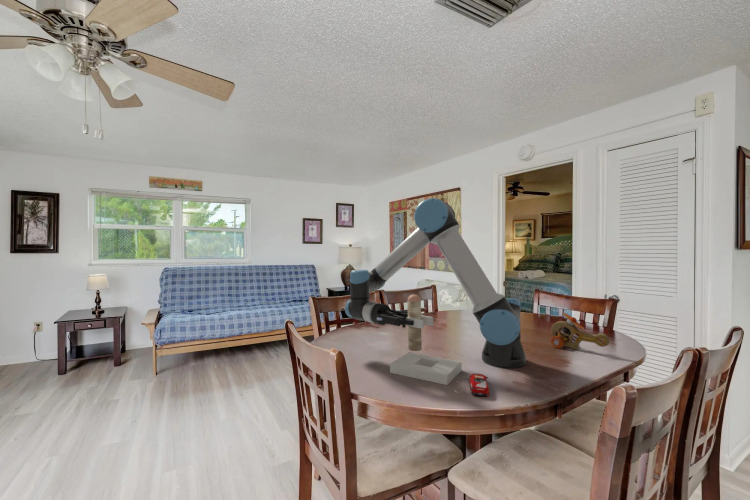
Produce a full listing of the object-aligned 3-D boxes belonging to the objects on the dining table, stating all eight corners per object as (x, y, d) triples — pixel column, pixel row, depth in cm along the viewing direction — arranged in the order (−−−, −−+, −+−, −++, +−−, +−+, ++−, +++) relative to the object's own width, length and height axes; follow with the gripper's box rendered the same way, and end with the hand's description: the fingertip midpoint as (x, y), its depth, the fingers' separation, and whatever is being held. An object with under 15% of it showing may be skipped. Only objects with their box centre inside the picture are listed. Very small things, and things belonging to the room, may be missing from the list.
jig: (461, 370, 115) (461, 361, 115) (447, 385, 103) (447, 375, 103) (408, 360, 125) (408, 352, 125) (390, 372, 114) (390, 363, 114)
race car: (468, 379, 108) (468, 367, 108) (486, 380, 106) (486, 368, 106) (469, 397, 95) (469, 383, 95) (490, 399, 94) (489, 385, 94)
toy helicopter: (556, 342, 145) (556, 310, 145) (613, 354, 129) (613, 318, 129) (547, 346, 140) (547, 313, 140) (605, 359, 124) (605, 321, 124)
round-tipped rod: (423, 348, 113) (422, 293, 113) (418, 351, 109) (417, 295, 109) (411, 346, 115) (410, 293, 115) (406, 349, 112) (405, 294, 112)
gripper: (393, 319, 131) (443, 329, 114) (359, 327, 119) (410, 340, 102) (393, 300, 131) (443, 307, 114) (359, 306, 119) (409, 315, 102)
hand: (427, 322), depth 108 cm, fingers closed on round-tipped rod, 4 cm apart
